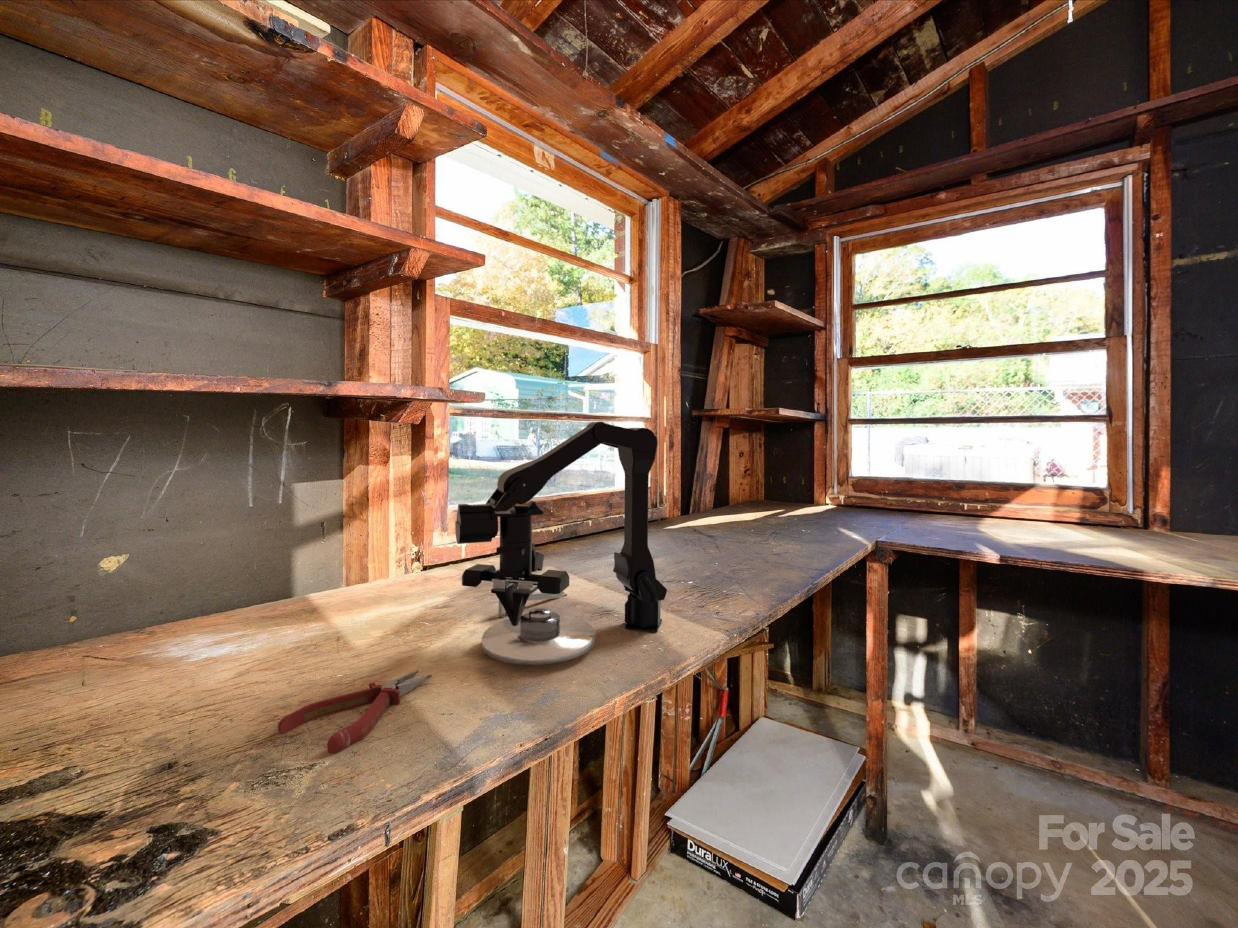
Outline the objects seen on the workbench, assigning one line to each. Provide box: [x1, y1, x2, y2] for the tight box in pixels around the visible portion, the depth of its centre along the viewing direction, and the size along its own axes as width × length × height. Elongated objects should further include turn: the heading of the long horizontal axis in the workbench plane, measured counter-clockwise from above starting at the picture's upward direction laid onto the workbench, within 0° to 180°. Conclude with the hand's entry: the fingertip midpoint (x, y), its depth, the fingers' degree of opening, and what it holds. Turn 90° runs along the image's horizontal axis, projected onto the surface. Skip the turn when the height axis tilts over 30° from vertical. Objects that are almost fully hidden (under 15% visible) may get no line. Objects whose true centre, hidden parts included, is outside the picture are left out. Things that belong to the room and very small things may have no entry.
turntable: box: [481, 614, 596, 666], centre depth 97 cm, size 20×20×1 cm
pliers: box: [277, 669, 433, 754], centre depth 76 cm, size 12×20×3 cm, turn 155°
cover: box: [520, 606, 560, 641], centre depth 97 cm, size 7×7×4 cm
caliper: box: [498, 591, 568, 618], centre depth 121 cm, size 20×1×6 cm, turn 143°
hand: (515, 625), depth 98 cm, fingers closed
